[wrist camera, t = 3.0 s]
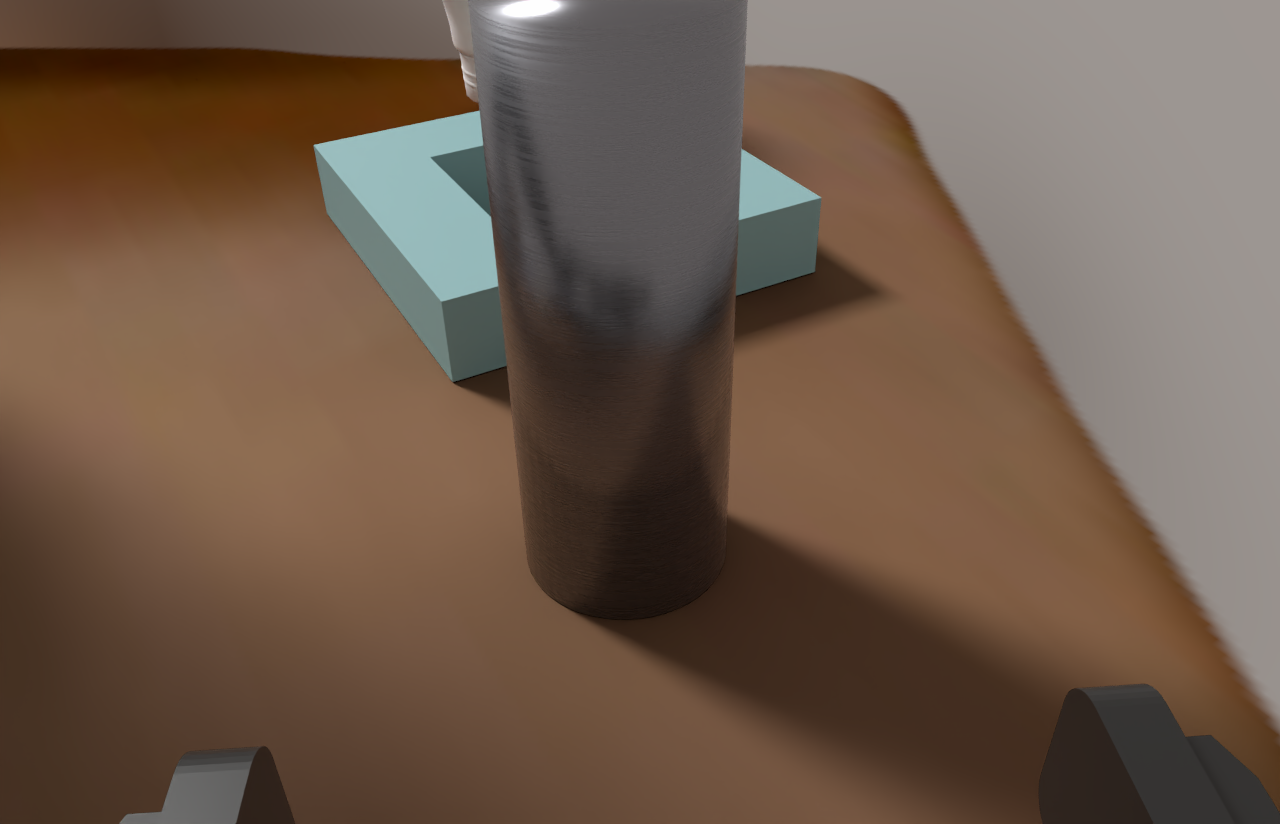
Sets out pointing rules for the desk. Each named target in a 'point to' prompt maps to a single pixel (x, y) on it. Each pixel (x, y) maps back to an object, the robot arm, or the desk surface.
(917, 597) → the desk surface
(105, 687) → the desk surface
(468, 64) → the lightbulb
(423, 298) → the frame
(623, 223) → the brushed steel cylinder
